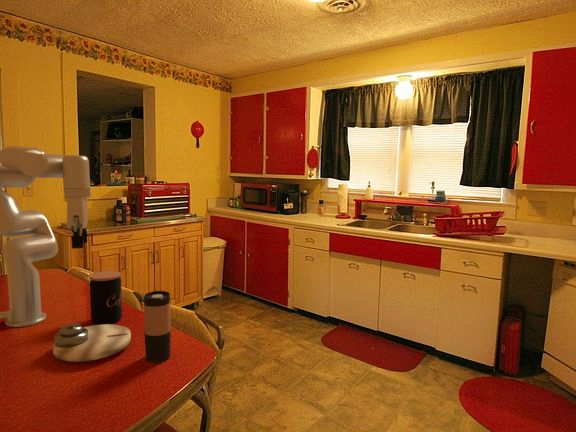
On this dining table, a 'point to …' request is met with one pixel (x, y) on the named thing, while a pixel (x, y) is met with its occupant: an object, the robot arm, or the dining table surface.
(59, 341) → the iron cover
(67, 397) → the dining table surface
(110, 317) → the coffee jar
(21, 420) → the dining table surface
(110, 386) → the dining table surface
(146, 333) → the travel mug
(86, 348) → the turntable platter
